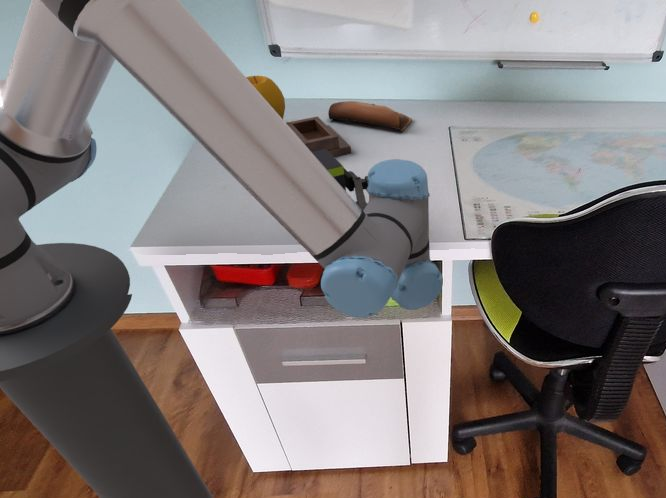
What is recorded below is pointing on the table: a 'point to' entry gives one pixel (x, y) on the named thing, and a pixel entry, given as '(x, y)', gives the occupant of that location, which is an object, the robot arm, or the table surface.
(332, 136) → the pad base
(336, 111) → the sunglasses case
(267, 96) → the apple
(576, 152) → the table surface
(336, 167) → the back pad
